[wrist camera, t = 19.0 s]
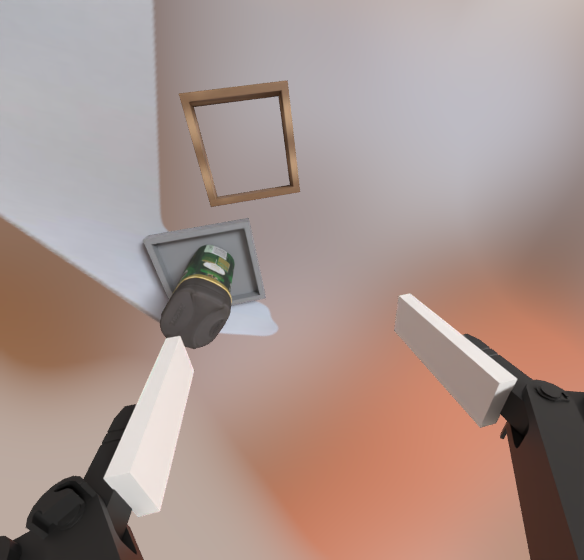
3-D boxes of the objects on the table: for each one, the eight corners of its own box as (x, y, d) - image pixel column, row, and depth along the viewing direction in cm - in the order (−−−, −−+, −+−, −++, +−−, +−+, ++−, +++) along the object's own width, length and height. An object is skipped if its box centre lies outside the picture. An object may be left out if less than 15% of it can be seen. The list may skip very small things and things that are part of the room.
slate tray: (148, 235, 43) (142, 240, 40) (248, 218, 44) (248, 221, 42) (179, 309, 50) (176, 316, 47) (264, 291, 52) (265, 298, 49)
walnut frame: (184, 99, 35) (178, 93, 32) (283, 87, 37) (287, 80, 34) (213, 203, 42) (210, 206, 39) (296, 189, 44) (300, 192, 40)
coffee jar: (218, 295, 49) (205, 361, 33) (180, 277, 46) (145, 341, 30) (241, 257, 47) (240, 309, 30) (203, 236, 44) (178, 281, 27)
